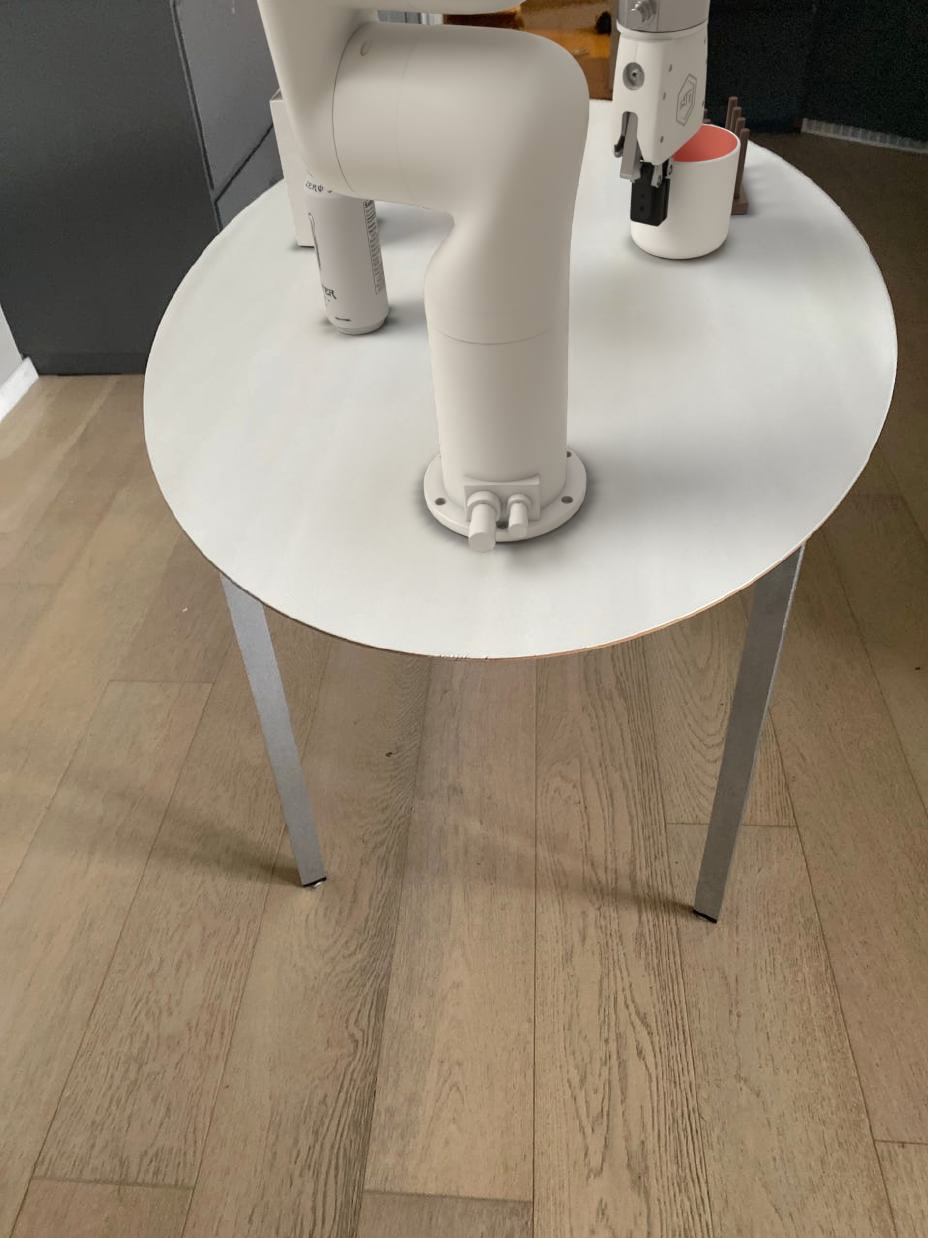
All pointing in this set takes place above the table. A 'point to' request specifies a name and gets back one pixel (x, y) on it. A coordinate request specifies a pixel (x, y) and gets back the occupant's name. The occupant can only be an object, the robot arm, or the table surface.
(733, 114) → the dish rack
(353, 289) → the energy drink can
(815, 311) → the table surface
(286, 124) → the milk carton
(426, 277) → the robot arm
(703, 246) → the cup
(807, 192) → the table surface
